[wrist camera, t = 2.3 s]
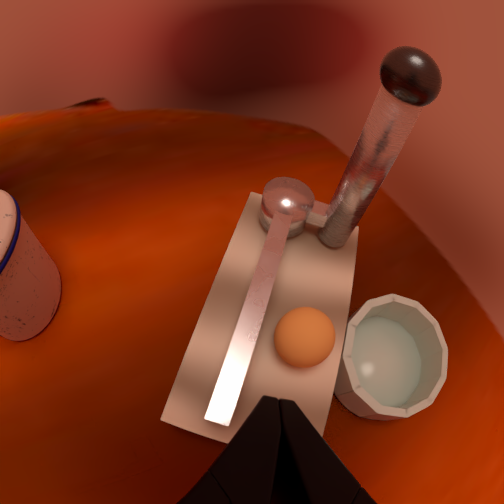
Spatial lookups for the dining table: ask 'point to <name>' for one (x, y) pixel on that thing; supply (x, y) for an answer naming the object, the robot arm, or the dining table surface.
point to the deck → (265, 327)
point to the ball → (304, 337)
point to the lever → (323, 215)
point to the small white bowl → (391, 359)
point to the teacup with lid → (24, 277)
